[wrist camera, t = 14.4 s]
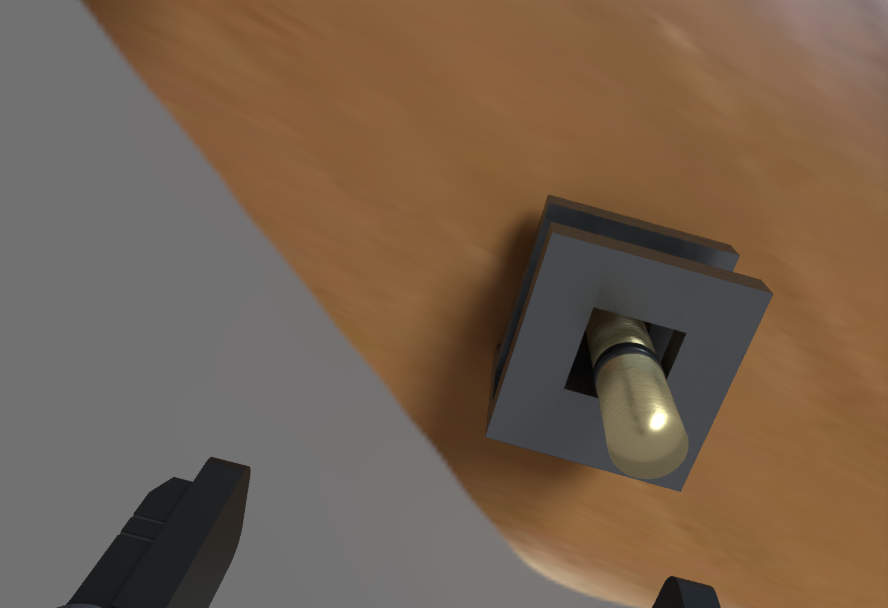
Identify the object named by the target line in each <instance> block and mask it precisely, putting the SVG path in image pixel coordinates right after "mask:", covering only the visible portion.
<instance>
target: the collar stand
mask: <svg viewBox="0 0 888 608" xmlns="http://www.w3.org/2000/svg"><path fill="white" fill-rule="evenodd" d="M739 256H740V255H739V254H738V253H737V252H736V251H735V250H734V249H733V247H732V246H731V245H728V244H725V243H721V242H717V241H714V240H710V239H707V238H703V237H699V236H696V235H692V234H689V233H685V232H681V231H678V230H674V229H671V228H667V227H663V226H660V225H656V224H653V223H649V222H646V221H642V220H638V219H635V218H631V217H628V216H624V215H620V214H617V213H613V212H610V211H606V210H602V209H599V208H595V207H592V206H588V205H584V204H581V203H577V202H574V201H570V200H566V199H563V198H559V197H556V196H552V195H548V197H547V200H546V203H545V206H544V209H543V213H542V216H541V219H540V222H539V225H538V228H537V231H536V235H535V238H534V241H533V244H532V247H531V250H530V253H529V257H528V260H527V263H526V266H525V269H524V272H523V275H522V279H521V282H520V285H519V288H518V291H517V294H516V298H515V301H514V304H513V307H512V310H511V313H510V316H509V320H508V323H507V326H506V329H505V332H504V335H503V338H502V342H501V345H499V344H498V345H497V348H496V351H495V355H494V359H493V369H492V378H491V388H490V397H489V407H488V417H487V426H486V436H485V437H487V438H490V439H494V440H498V441H501V442H505V443H508V444H512V445H515V446H519V447H523V448H526V449H530V450H533V451H537V452H540V453H544V454H547V455H551V456H555V457H558V458H562V459H565V460H569V461H572V462H576V463H580V464H583V465H587V466H590V467H594V468H597V469H601V470H605V471H608V472H612V473H615V474H619V475H622V476H626V477H630V478H633V479H637V480H640V481H644V482H647V483H651V484H655V485H658V486H662V487H665V488H669V489H672V490H676V491H680V492H681V490H682V488H683V485H684V483H685V481H686V479H687V477H688V475H689V473H690V470H691V468H692V466H693V464H694V462H695V460H696V458H697V456H698V453H699V451H700V449H701V447H702V445H703V443H704V441H705V438H706V436H707V434H708V432H709V430H710V428H711V426H712V424H713V421H714V419H715V417H716V415H717V413H718V411H719V409H720V406H721V404H722V402H723V400H724V398H725V396H726V394H727V392H728V389H729V387H730V385H731V383H732V381H733V379H734V377H735V375H736V372H737V370H738V368H739V366H740V364H741V362H742V360H743V357H744V355H745V353H746V351H747V349H748V347H749V345H750V343H751V340H752V338H753V336H754V334H755V332H756V330H757V328H758V325H759V323H760V321H761V319H762V317H763V315H764V313H765V311H766V308H767V306H768V304H769V302H770V300H771V298H772V296H773V293H772V292H771V291H770V290H769V288H768V287H767V286H766V285H765V284H764V283H763V282H762V280H760V279H756V278H752V277H749V276H745V275H742V274H738V273H735V272H733V270H734V268H735V265H736V263H737V261H738V259H739ZM593 307H595V308H599V309H602V310H606V311H609V312H613V313H617V314H620V315H624V316H627V317H631V318H635V319H638V320H642V321H644V324H645V327H646V329H647V332H648V334H649V337H650V340H651V342H652V345H653V347H654V350H655V353H656V355H657V357H658V358H659V360H660V363H661V365H662V368H663V370H664V373H665V376H666V381H667V384H668V386H669V389H670V392H671V394H672V397H673V399H674V402H675V405H676V407H677V410H678V412H679V415H680V418H681V420H682V423H683V425H684V428H685V431H686V433H687V436H688V442H689V446H688V452H687V455H686V457H685V459H684V461H683V462H682V463H681V465H680V466H679V467H678V468H677V469H675V470H674V471H673V472H671V473H669V474H667V475H665V476H662V477H659V478H655V479H639V478H635V477H632V476H629V475H627V474H625V473H623V472H622V471H620V470H619V469H618V468H617V467H616V466H615V465H614V463H613V462H612V460H611V458H610V456H609V452H608V447H607V442H606V436H605V431H604V426H603V420H602V415H601V410H600V404H599V399H598V395H597V393H596V389H595V383H594V377H593V367H592V362H591V356H590V351H589V345H588V340H587V336H586V335H583V334H584V332H585V329H586V326H587V323H588V321H589V318H590V315H591V313H592V310H593Z"/></svg>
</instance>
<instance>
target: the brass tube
mask: <svg viewBox="0 0 888 608" xmlns="http://www.w3.org/2000/svg"><path fill="white" fill-rule="evenodd" d="M586 335H587V340H588V345H589V351H590V356H591V362H592V367H593V377H594V383H595V389H596V393H597V395H598V399H599V404H600V410H601V415H602V420H603V426H604V431H605V436H606V442H607V447H608V452H609V456H610V458H611V460H612V462H613V463H614V465H615V466H616V467H617V468H618V469H619V470H620V471H622V472H623V473H625V474H627V475H629V476H632V477H635V478H639V479H655V478H659V477H662V476H665V475H667V474H669V473H671V472H673V471H674V470H675V469H677V468H678V467H679V466H680V465H681V463H682V462H683V461H684V459H685V457H686V455H687V452H688V446H689V442H688V436H687V433H686V431H685V428H684V425H683V423H682V420H681V418H680V415H679V412H678V410H677V407H676V405H675V402H674V399H673V397H672V394H671V392H670V389H669V386H668V384H667V381H666V376H665V373H664V370H663V368H662V365H661V363H660V360H659V358H658V357H657V355H656V353H655V350H654V347H653V345H652V342H651V340H650V337H649V334H648V332H647V329H646V327H645V324H644V321H642V320H638V319H635V318H631V317H627V316H624V315H620V314H617V313H613V312H609V311H606V310H602V309H599V308H595V307H593V310H592V313H591V315H590V318H589V321H588V323H587V326H586Z"/></svg>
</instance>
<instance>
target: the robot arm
mask: <svg viewBox="0 0 888 608" xmlns="http://www.w3.org/2000/svg"><path fill="white" fill-rule="evenodd" d="M250 471H251V470H250V467H249V466H246V465H241V464H238V463H234V462H230V461H226V460H222V459H218V458H214V457H210V458H209V459H208V460H207V462H206V463H205V465H204V466H203V468H202V469H201V471H200V472H199V474H198V475H197V477H196V478H195V480H194V481H193V482H191V481H187V480H183V479H180V478H176V477H173V478H172V479H170V480H168V481H167V482H165V483H163V484H162V485H160V486H159V487H157V488H155V489H154V490H152V491H151V492H149V493H148V495H147V496H146V497H145V499H144V500H143V502H142V503H141V504H140V506H139V507H138V508H137V510H136V511H135V512H134V515H133V517H131V518H130V519H129V521H128V522H127V523H126V525H125V526H124V528H123V529H122V530H121V533H120V535H118V536H117V537H116V538H115V540H114V541H113V542H112V544H111V545H110V546H109V548H108V549H107V551H106V552H105V553H104V555H103V556H102V557H101V559H100V560H99V561H98V563H97V564H96V565H95V567H94V568H93V570H92V571H91V572H90V574H89V575H88V577H87V578H86V579H85V581H84V582H83V583H82V585H81V586H80V587H79V589H78V590H77V591H76V593H75V594H74V595H73V597H72V598H71V600H69V602H68V603H67V604H66V605H65V606H61V607H58V608H208V607H209V605H210V603H211V601H212V600H213V598H214V595H215V594H216V592H217V590H218V588H219V586H220V584H221V582H222V580H223V578H224V576H225V574H226V571H227V570H228V568H229V566H230V564H231V562H232V559H233V557H234V554H235V551H236V549H237V546H238V543H239V539H240V536H241V531H242V526H243V519H244V512H245V505H246V500H247V493H248V487H249V480H250ZM652 608H721V607H720V604H719V601H718V598H717V595H716V592H715V590H714V588H713V587H711V586H709V585H705V584H701V583H697V582H693V581H690V580H686V579H682V578H678V577H674V576H670V577H669V578H667V580H666V581H665V583H664V585H663V587H662V589H661V591H660V593H659V595H658V597H657V599H656V601H655V603H654V605H653V607H652Z"/></svg>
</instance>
